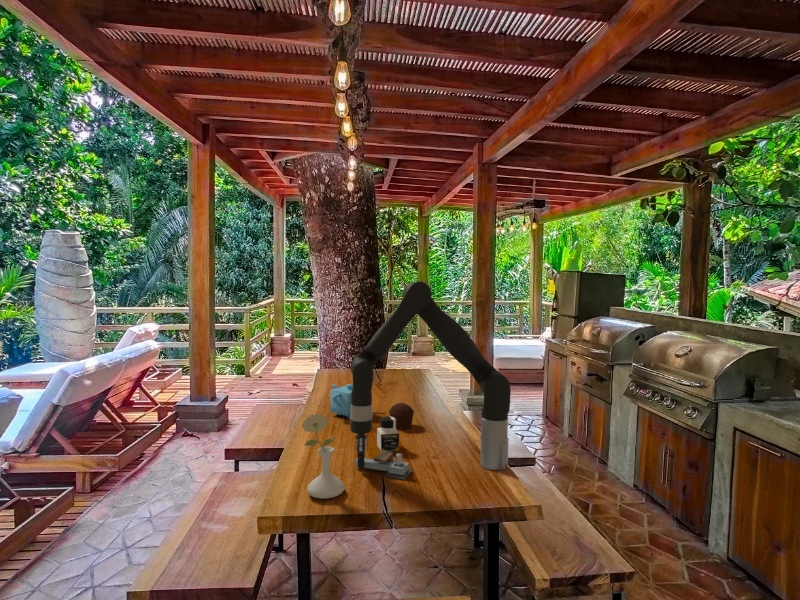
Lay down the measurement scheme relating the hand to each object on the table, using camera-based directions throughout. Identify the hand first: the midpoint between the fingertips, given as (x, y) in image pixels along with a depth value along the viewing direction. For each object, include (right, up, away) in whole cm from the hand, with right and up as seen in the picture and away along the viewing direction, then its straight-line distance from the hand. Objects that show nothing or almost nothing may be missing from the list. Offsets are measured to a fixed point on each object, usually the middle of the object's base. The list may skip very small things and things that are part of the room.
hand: (361, 467), depth 158 cm
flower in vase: (-10, -3, -15) cm, 19 cm away
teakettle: (-10, +2, +66) cm, 66 cm away
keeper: (+8, -2, +2) cm, 8 cm away
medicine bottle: (+9, -1, +22) cm, 24 cm away
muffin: (+14, +1, +48) cm, 50 cm away
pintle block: (+13, -2, -1) cm, 13 cm away
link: (+7, -1, +1) cm, 7 cm away
